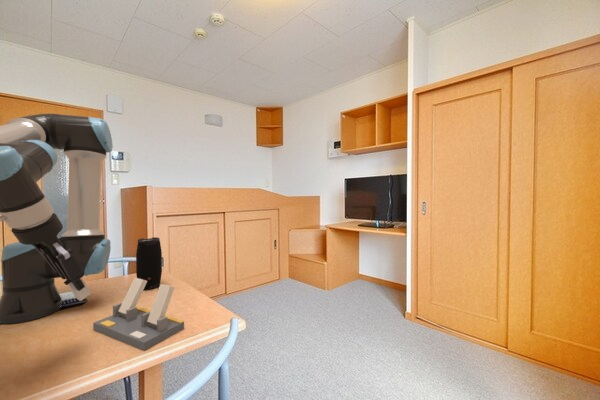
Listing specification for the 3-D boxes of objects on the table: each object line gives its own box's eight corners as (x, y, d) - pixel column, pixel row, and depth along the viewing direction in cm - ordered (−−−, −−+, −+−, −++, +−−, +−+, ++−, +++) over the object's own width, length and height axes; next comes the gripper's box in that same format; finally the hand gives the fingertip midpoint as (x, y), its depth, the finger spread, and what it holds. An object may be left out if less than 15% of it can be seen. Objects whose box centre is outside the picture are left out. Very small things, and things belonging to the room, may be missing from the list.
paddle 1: (116, 312, 80) (134, 277, 85) (121, 313, 82) (138, 278, 86) (126, 316, 78) (143, 279, 83) (131, 317, 80) (148, 281, 84)
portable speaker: (156, 290, 106) (156, 240, 106) (131, 291, 106) (130, 241, 105) (165, 283, 115) (165, 236, 114) (142, 283, 114) (142, 237, 113)
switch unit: (93, 329, 77) (93, 311, 77) (135, 312, 88) (134, 296, 87) (144, 350, 67) (144, 329, 67) (184, 328, 78) (184, 310, 78)
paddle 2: (145, 323, 75) (159, 283, 78) (150, 323, 76) (164, 284, 80) (156, 327, 73) (171, 286, 76) (161, 327, 74) (175, 287, 78)
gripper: (-3, 223, 58) (54, 298, 70) (26, 237, 52) (83, 316, 64) (38, 205, 63) (85, 278, 75) (69, 217, 58) (114, 293, 70)
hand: (84, 296), depth 70 cm, fingers closed
